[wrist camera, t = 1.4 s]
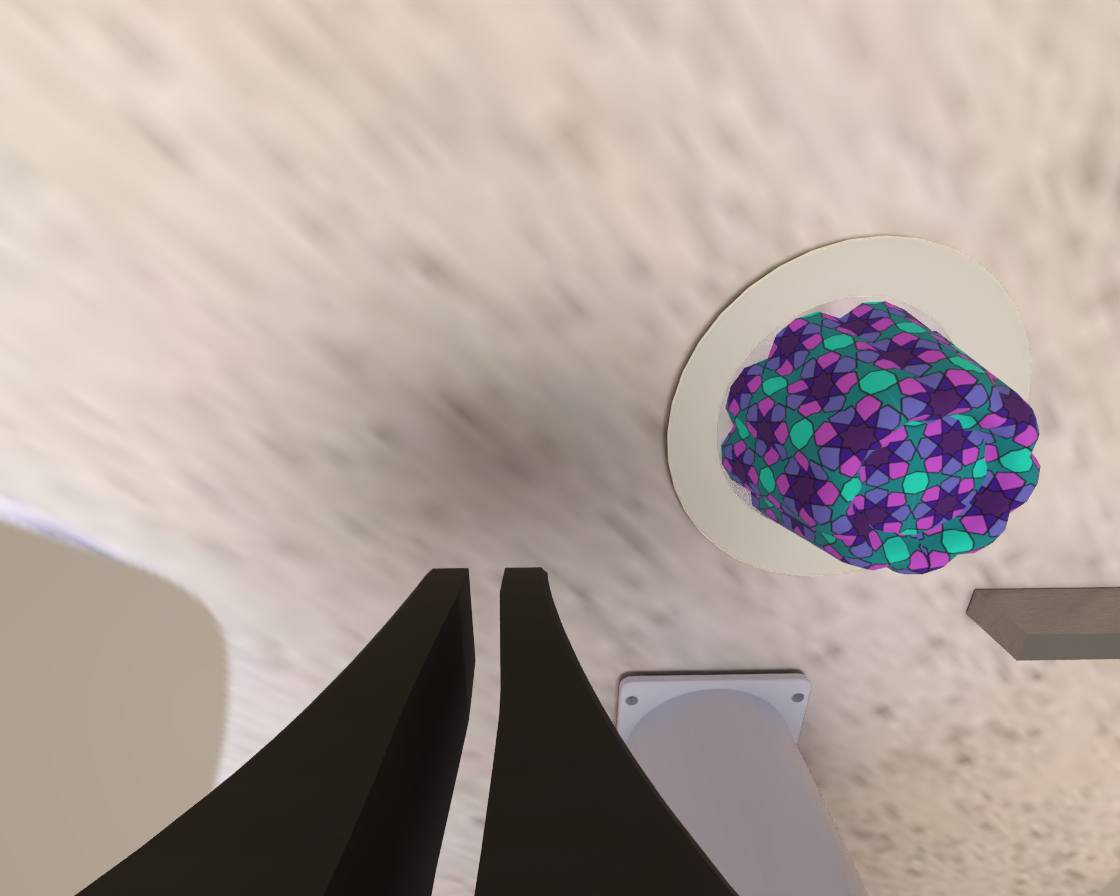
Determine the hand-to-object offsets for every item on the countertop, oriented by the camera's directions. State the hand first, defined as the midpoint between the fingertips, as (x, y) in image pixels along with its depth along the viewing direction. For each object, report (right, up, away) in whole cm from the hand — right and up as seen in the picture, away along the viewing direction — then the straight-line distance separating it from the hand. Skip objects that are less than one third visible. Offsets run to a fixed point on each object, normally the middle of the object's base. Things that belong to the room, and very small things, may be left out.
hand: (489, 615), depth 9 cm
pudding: (+11, +4, +9) cm, 15 cm away
